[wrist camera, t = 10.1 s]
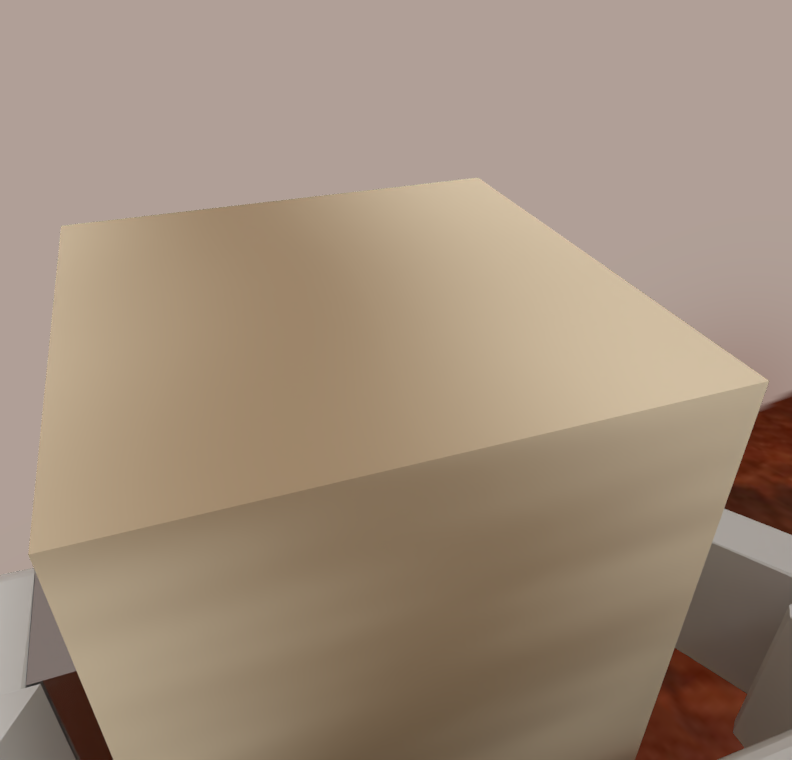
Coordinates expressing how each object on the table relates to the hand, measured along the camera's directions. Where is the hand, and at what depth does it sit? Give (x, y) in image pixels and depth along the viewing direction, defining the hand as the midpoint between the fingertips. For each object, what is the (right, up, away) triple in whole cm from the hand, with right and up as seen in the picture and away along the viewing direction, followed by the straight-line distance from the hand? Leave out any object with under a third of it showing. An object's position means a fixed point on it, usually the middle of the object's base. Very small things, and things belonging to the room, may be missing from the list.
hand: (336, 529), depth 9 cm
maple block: (0, -5, +2) cm, 5 cm away
